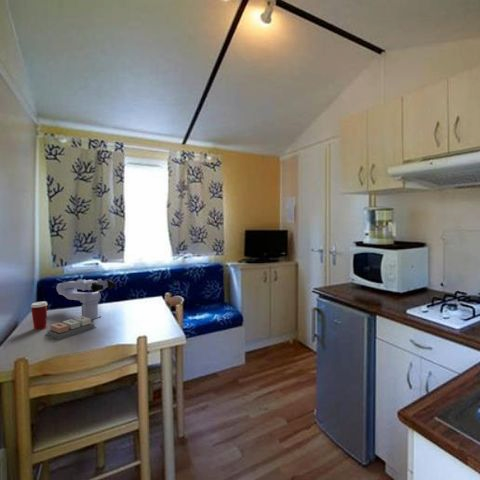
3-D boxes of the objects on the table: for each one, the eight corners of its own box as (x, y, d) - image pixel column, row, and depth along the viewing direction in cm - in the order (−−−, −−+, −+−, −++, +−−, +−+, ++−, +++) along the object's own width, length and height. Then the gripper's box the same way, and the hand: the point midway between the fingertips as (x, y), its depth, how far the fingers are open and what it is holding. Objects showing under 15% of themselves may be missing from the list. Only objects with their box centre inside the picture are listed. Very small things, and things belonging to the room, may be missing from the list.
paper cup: (51, 326, 160) (50, 301, 159) (38, 331, 153) (37, 305, 152) (41, 325, 163) (40, 300, 162) (28, 329, 156) (26, 304, 155)
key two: (62, 326, 154) (62, 321, 154) (71, 323, 158) (71, 318, 158) (71, 329, 149) (71, 324, 149) (80, 326, 153) (80, 321, 153)
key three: (50, 329, 149) (50, 324, 149) (59, 327, 153) (59, 322, 153) (59, 333, 144) (59, 327, 144) (68, 330, 148) (68, 325, 148)
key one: (74, 322, 159) (73, 318, 159) (82, 320, 163) (82, 315, 163) (83, 325, 154) (82, 321, 154) (91, 323, 158) (91, 318, 158)
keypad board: (45, 334, 149) (44, 330, 149) (83, 323, 166) (83, 319, 166) (57, 340, 142) (57, 335, 142) (96, 327, 159) (96, 323, 159)
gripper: (82, 280, 165) (96, 281, 158) (106, 276, 177) (119, 277, 170) (83, 293, 165) (97, 294, 158) (107, 288, 177) (120, 288, 170)
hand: (109, 286), depth 164 cm, fingers open, 7 cm apart
